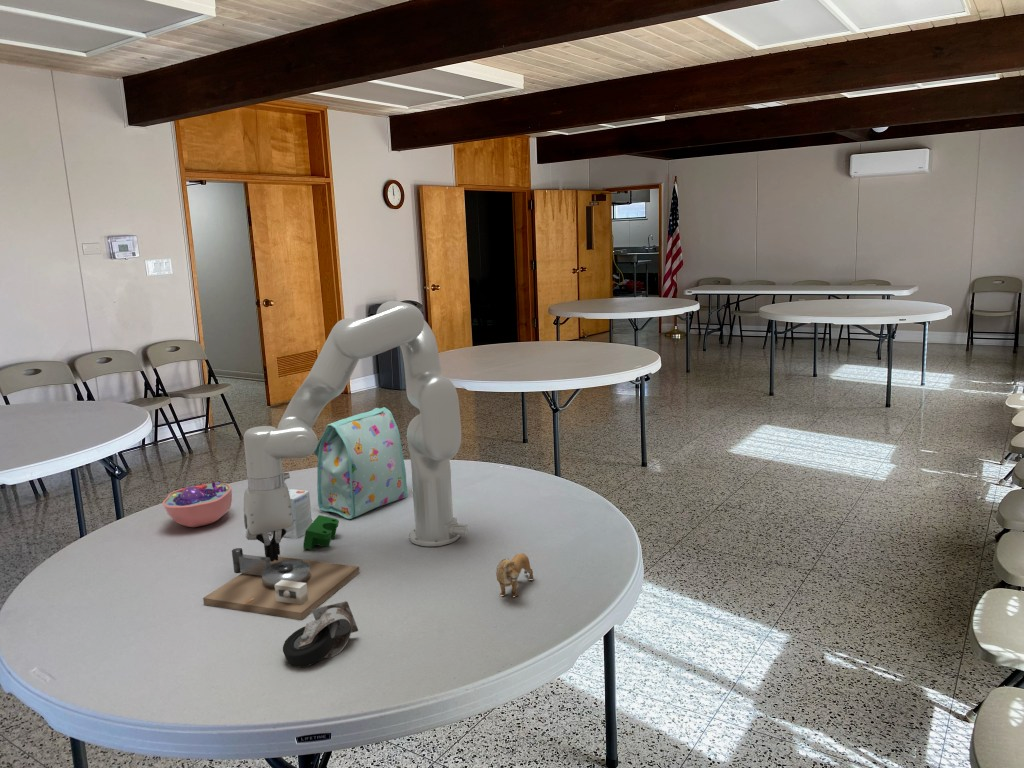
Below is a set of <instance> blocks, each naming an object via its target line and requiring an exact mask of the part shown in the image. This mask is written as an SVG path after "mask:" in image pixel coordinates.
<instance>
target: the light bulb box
mask: <svg viewBox="0 0 1024 768" xmlns="http://www.w3.org/2000/svg"><path fill="white" fill-rule="evenodd" d="M288 491H289V495H290V499H291V504H292V509H293V517H294V523H293V524H294V526H295V529H294V530H292V531H290V532H288V533H286V534H285V535H284V536H283V538H289V539H296V540H297V539H300V538H301V537H302V536H305V533H306V530H307V529H308V527H309V526H310V525H311V524H312V523H313V521H312V507H311V497H310V491H309V490H303V489H296V488H295V489H294V488H288ZM272 534H273V531H272V532H268V535H270V536H272Z"/></svg>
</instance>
